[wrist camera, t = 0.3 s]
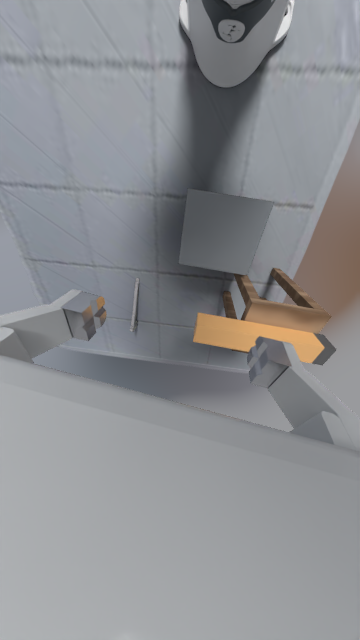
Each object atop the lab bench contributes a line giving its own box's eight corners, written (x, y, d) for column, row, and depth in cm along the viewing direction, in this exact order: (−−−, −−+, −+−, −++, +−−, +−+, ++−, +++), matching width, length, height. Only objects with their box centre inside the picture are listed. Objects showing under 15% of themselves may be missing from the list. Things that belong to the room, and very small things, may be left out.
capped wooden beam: (197, 312, 33) (197, 324, 30) (323, 334, 32) (336, 349, 29) (194, 328, 35) (193, 341, 32) (311, 349, 35) (322, 365, 32)
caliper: (137, 324, 71) (132, 334, 66) (135, 324, 71) (129, 333, 66) (139, 278, 59) (133, 285, 54) (136, 277, 59) (129, 285, 54)
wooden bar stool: (233, 261, 52) (252, 302, 31) (279, 268, 51) (331, 316, 30) (222, 296, 59) (231, 350, 37) (263, 303, 58) (296, 362, 37)
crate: (192, 191, 44) (187, 188, 32) (255, 201, 43) (274, 201, 31) (184, 249, 52) (178, 263, 40) (237, 258, 51) (247, 275, 39)
